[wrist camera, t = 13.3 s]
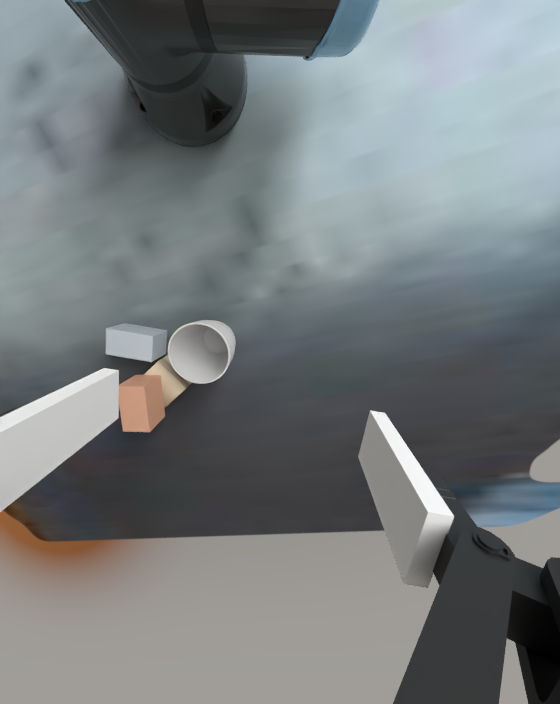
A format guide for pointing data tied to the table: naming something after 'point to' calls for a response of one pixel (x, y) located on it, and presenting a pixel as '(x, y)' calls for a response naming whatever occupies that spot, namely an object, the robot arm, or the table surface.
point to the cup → (201, 350)
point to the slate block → (136, 342)
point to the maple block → (168, 380)
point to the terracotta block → (141, 403)
